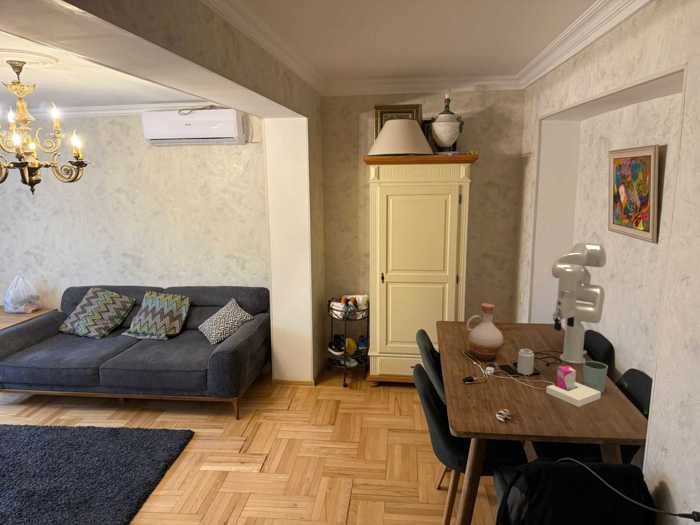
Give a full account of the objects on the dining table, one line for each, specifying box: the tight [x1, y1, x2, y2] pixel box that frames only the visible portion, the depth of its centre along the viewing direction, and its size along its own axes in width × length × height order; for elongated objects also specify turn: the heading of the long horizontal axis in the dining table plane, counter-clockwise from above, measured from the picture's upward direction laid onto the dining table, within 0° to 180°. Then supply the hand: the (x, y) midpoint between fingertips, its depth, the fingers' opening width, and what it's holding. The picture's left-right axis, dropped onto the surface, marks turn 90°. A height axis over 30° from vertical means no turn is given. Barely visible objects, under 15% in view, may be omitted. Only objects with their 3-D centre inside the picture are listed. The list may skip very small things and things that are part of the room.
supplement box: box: [556, 365, 577, 391], centre depth 218 cm, size 6×6×12 cm
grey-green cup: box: [582, 360, 609, 394], centre depth 221 cm, size 10×10×12 cm
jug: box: [465, 302, 504, 361], centre depth 259 cm, size 20×18×30 cm
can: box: [516, 348, 535, 376], centre depth 239 cm, size 8×8×12 cm
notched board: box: [545, 381, 602, 408], centre depth 215 cm, size 16×16×3 cm
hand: (564, 328), depth 227 cm, fingers open, 9 cm apart
